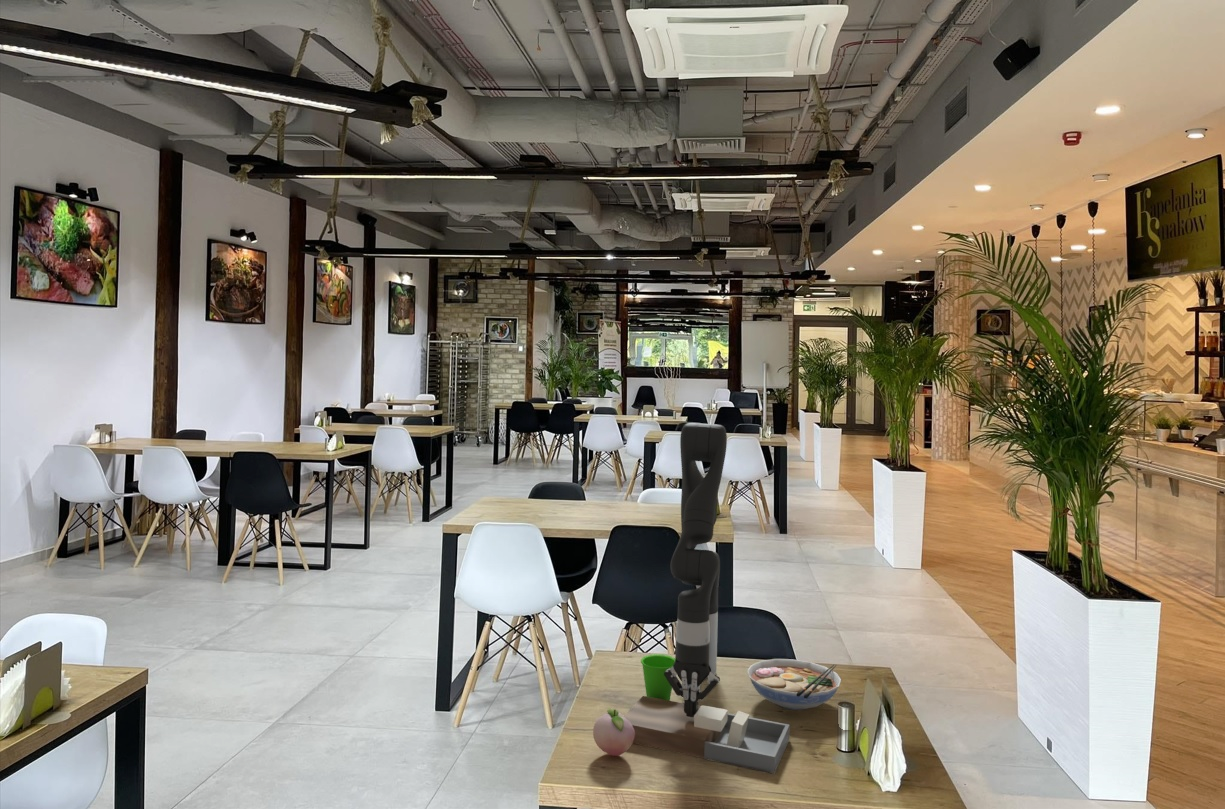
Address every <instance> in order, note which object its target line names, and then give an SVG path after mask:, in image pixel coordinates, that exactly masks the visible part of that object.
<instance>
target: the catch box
mask: <svg viewBox="0 0 1225 809" xmlns="http://www.w3.org/2000/svg"><path fill="white" fill-rule="evenodd" d="M735 715H736V714H734V713H729V712H728V718H727V722H726V724H725V726H724V728H723V729H722V731H721V732H720V733H719V735H718V736H717V738H716V739H715V741H714V742H708V741H705V750H704V758H703V759H704V760H707V761H712V762H716V763H721V764H727V765H732V766H736V767H741V768H746V769H751V770H756V771H759V772H764V773H768V774H769V773H770V774H774V775H775V773H776V771H777V769H778V768H779V764H780V762H781V760H782V757H783V755H784V753H785V751H786V748H787V746H788V743H789V741H790V727H791V725H790V724H788V723H782V722H777V721H771V720H767V719H761V718H756V717H751V716H749V719H748V724H747V728H746V733H745V737H744V741H743V743H742V744H741V746H740V748H737V747H732V746H727V741H728V736H729V732H730V727H731V722H732V720H733V719H734V717H735Z"/></svg>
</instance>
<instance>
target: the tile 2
mask: <svg viewBox="0 0 1225 809" xmlns="http://www.w3.org/2000/svg"><path fill="white" fill-rule="evenodd" d="M749 717H750V714H749V713H745V712H743V711H741V710H737V712H736V714H735V717H734V719H733V720H732V722H731V727H730V732H729V736H728V741H727V746H732V747H737V748H740V746H741V744H742V743H743V741H744V737H745V733H746V728H747V724H748V719H749Z"/></svg>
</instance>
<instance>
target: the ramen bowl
mask: <svg viewBox="0 0 1225 809" xmlns="http://www.w3.org/2000/svg"><path fill="white" fill-rule="evenodd" d="M836 667H837V664H833V665H831V666H830V667H829V668H828V667H827V666H825V665H821V664H817V663H815V662H811V661H806V660H798V659H792V658H791V659H789V658H772V659H765V660H759V661H757V662H755V663H753V664H751V665H749V667H748V669H747V670H746V671H747V675H748V677H749V679H750V682H751V684H752V686H753V688H754V689H755V690H756V692H757V693H758V694H759V695H760V696H761V697H763V698H764V699H766V701H769V702H770V703H771V704H775V705H777V706H780V707H781V708H783V709H787V710H791V711H801V710H805V709H812V708H816V707H819V706H821V705H823V704H825V703H827V702H828V701H830V699H831V698H833V696H834V695H835V694H836V692H837V691H838V689H839V688H840V685H841V681H842V679H841V677H840V676H839V674H838V672H835V671H833V670H834V669H835V668H836Z"/></svg>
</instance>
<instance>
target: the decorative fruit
mask: <svg viewBox="0 0 1225 809" xmlns="http://www.w3.org/2000/svg"><path fill="white" fill-rule="evenodd" d="M592 730H593V731H592V733H593V739H594V743H595V744H596V746H597V747H598V748H599V749H600V750H602V751H603V752H605V753H606V754H608V755H610V756H612V757H617V756H620V755H623V754H624V753H626V752H627V751H628V750H629V749H630V748H631V746H632V745H633V744H634V743H633V741H634V737H635V731H634V728H633V726H632V724H631V723H630V721H629V720H627V719H626V718H625V717H624V714H622V713H620V712H619V711H618V710H617V709H615V708H609V709H607V710H606V713H604V714H603V715H600V716H599V717H598V718H597V719H596V721H595V722H594V724H593V728H592Z"/></svg>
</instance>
